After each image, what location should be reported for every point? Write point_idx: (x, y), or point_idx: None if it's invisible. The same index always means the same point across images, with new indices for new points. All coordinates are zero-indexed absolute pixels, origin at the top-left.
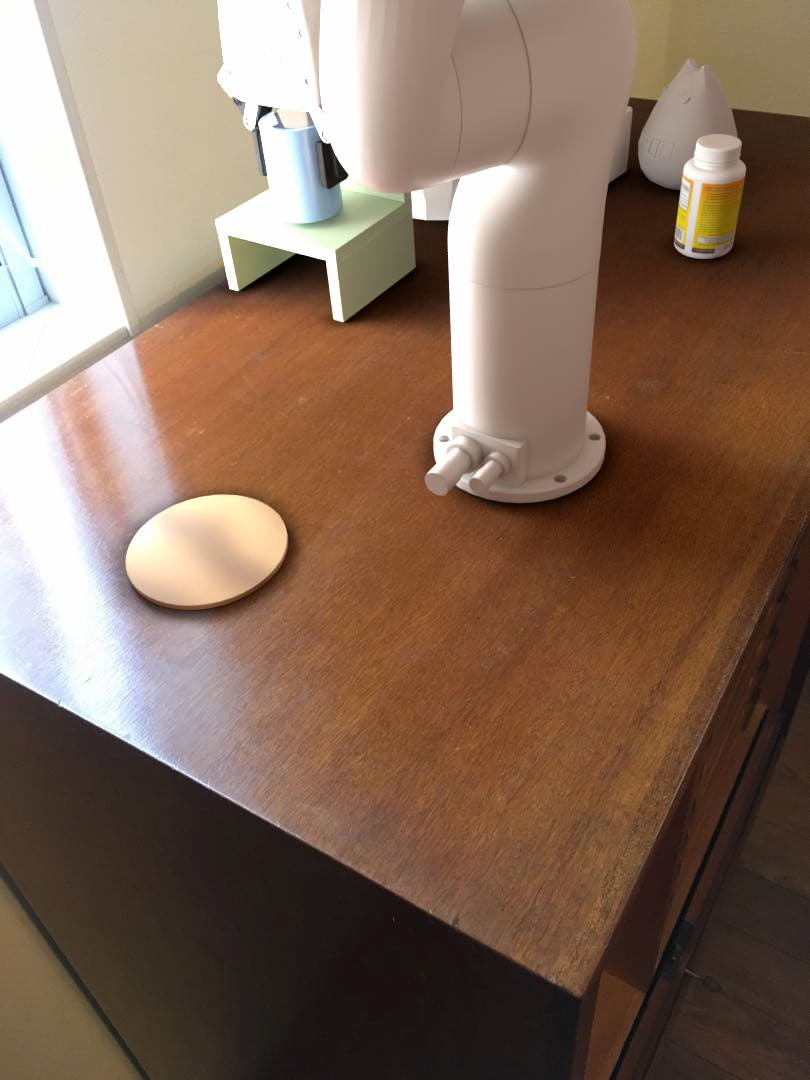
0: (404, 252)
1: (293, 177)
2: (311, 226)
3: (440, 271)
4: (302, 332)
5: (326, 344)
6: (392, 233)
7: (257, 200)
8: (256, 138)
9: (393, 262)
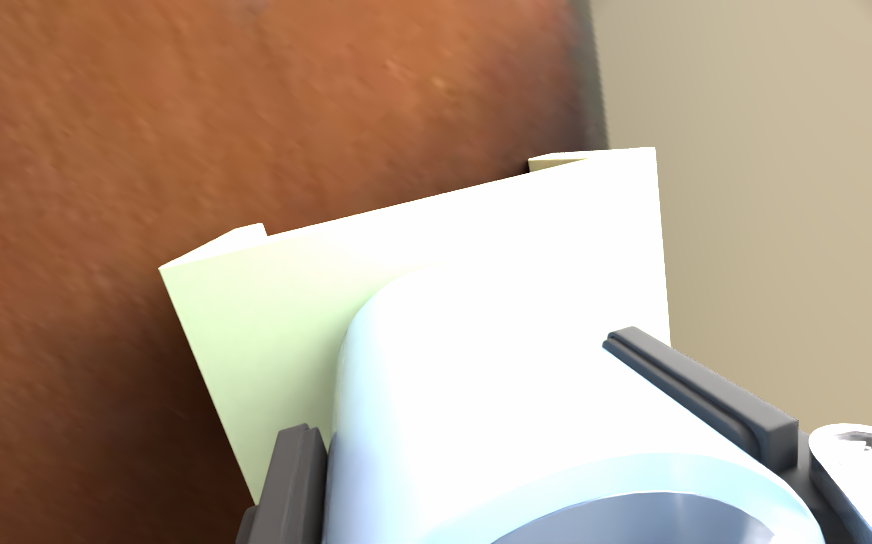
0: None
1: (389, 357)
2: None
3: None
4: (268, 140)
5: (179, 141)
6: None
7: (645, 316)
8: (738, 407)
9: None
